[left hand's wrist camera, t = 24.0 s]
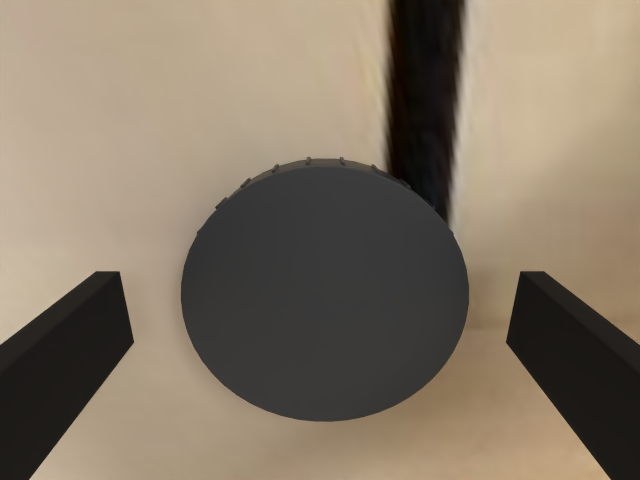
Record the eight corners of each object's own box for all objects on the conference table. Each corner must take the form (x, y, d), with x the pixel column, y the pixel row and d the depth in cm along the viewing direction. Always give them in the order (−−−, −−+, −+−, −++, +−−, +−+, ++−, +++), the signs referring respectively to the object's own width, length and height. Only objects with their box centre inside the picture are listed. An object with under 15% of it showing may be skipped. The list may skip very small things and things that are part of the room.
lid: (487, 339, 16) (507, 367, 14) (271, 420, 18) (266, 455, 16) (396, 105, 13) (407, 105, 11) (143, 229, 15) (119, 246, 13)
